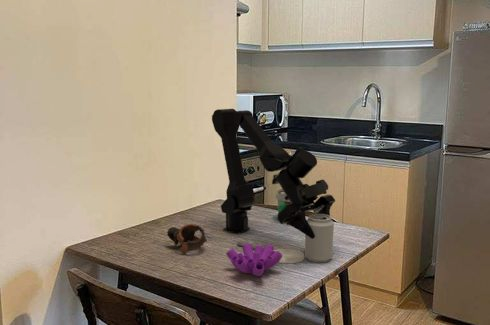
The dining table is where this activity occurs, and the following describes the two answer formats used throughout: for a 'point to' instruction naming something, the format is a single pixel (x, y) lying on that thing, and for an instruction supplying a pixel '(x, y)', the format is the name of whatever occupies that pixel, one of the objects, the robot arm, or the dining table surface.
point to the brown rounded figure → (187, 237)
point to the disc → (290, 256)
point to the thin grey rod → (243, 244)
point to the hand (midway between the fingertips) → (323, 234)
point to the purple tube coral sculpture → (254, 259)
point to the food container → (281, 200)
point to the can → (319, 238)
